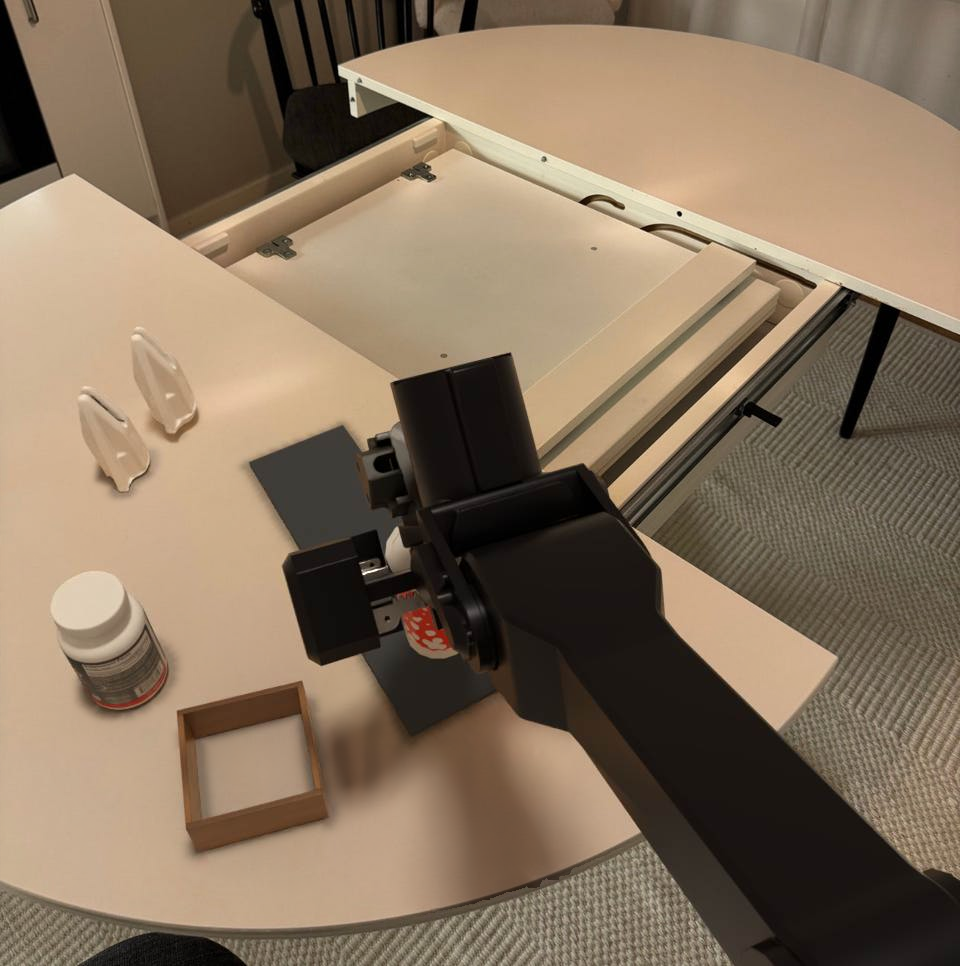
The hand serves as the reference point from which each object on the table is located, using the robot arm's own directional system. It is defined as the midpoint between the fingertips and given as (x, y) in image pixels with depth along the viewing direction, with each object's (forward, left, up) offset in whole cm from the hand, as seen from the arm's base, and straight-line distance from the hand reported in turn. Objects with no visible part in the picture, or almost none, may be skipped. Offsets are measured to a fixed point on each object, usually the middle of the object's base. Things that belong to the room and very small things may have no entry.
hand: (428, 552), depth 62 cm
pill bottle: (+4, +22, -12) cm, 25 cm away
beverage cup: (-1, 0, -7) cm, 7 cm away
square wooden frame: (-6, +14, -12) cm, 19 cm away
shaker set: (+28, +19, -12) cm, 36 cm away
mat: (+9, +3, -12) cm, 16 cm away
